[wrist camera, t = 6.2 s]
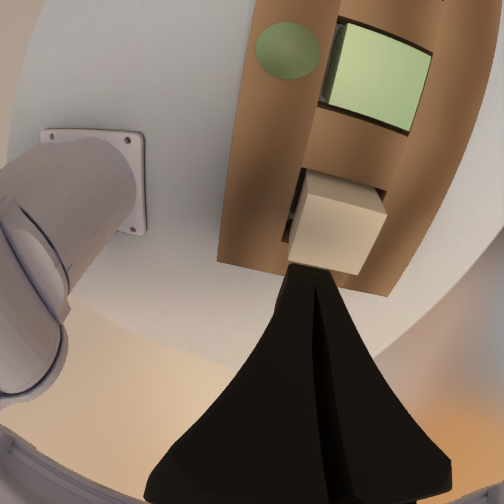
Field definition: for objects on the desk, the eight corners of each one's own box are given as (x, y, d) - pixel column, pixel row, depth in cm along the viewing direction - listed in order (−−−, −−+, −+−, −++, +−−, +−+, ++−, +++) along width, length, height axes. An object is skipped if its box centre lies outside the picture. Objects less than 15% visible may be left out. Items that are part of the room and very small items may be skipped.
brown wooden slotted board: (224, 238, 21) (215, 264, 18) (292, -118, 4) (290, -139, 2) (381, 272, 20) (388, 300, 18) (482, -46, 4) (505, -52, 2)
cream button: (289, 228, 17) (287, 260, 15) (306, 168, 15) (308, 193, 13) (351, 242, 17) (357, 275, 15) (374, 187, 15) (387, 214, 13)
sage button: (322, 95, 13) (328, 103, 11) (338, 29, 11) (348, 23, 8) (390, 117, 13) (409, 131, 11) (408, 54, 11) (431, 56, 8)
